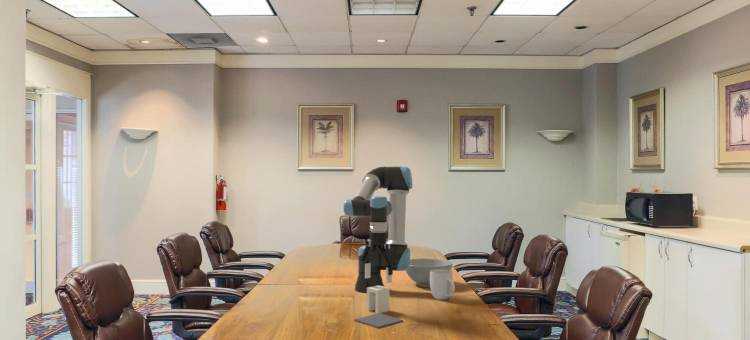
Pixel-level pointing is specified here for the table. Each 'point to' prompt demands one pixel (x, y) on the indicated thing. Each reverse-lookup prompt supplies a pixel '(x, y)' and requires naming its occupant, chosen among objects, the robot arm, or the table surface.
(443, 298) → the mug
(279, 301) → the table surface
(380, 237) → the robot arm
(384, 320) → the mat
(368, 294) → the white upright block
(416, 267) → the decorative bowl
